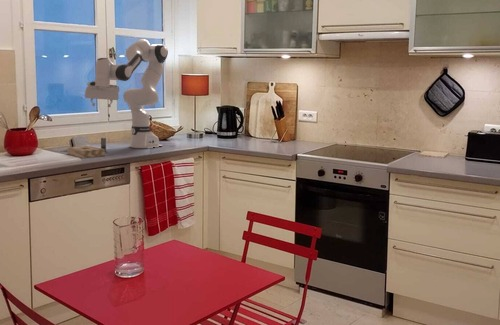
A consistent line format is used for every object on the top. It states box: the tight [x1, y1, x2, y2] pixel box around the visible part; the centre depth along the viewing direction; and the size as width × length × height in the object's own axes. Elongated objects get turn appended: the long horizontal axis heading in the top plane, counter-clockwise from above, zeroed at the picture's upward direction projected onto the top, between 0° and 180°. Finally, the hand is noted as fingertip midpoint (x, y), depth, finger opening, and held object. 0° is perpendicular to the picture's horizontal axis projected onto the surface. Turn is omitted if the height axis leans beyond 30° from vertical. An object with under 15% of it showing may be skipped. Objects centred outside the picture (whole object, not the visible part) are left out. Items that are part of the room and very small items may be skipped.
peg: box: [100, 137, 107, 154], centre depth 344 cm, size 3×3×9 cm
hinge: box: [68, 134, 92, 147], centre depth 354 cm, size 17×5×10 cm, turn 164°
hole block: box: [66, 145, 106, 159], centre depth 332 cm, size 14×18×4 cm
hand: (101, 106), depth 343 cm, fingers open, 8 cm apart
